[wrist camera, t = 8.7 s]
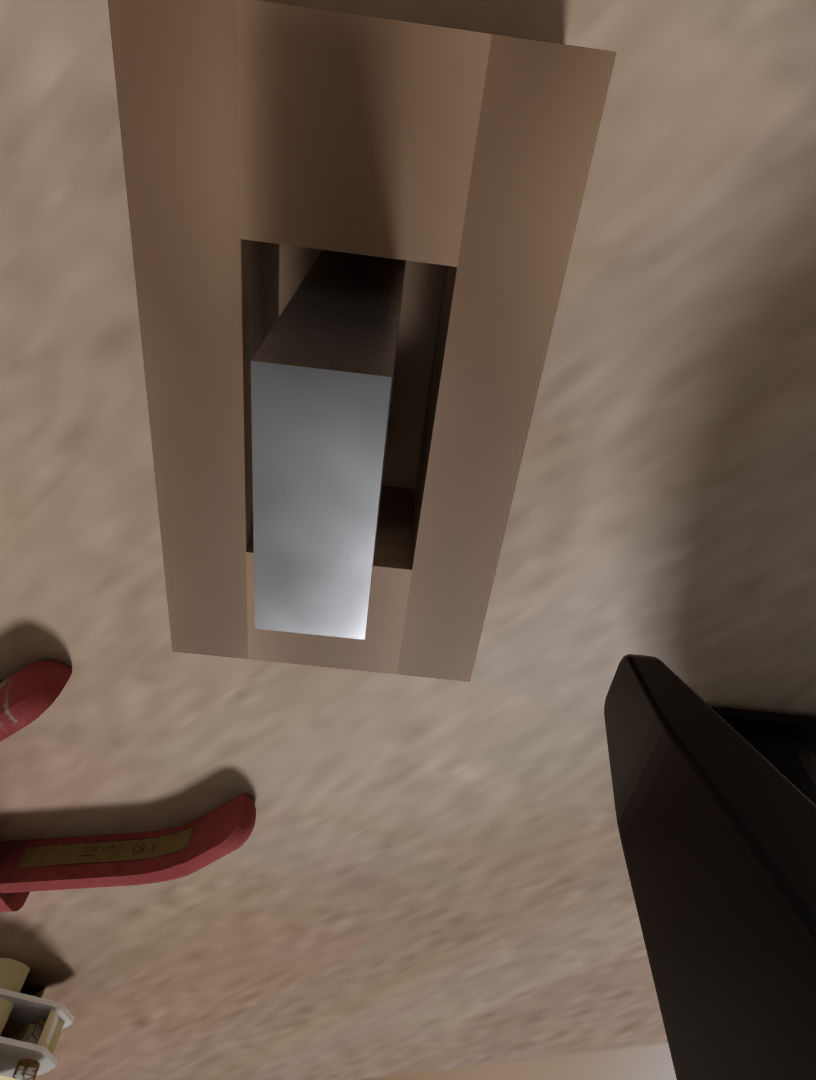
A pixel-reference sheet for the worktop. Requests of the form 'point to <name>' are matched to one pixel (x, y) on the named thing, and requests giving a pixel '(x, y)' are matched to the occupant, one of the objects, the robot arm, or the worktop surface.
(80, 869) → the pliers
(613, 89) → the worktop surface
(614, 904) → the worktop surface
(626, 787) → the robot arm
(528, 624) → the worktop surface
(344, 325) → the upright grey slab
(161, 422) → the rectangular wooden block
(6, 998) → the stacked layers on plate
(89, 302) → the worktop surface
